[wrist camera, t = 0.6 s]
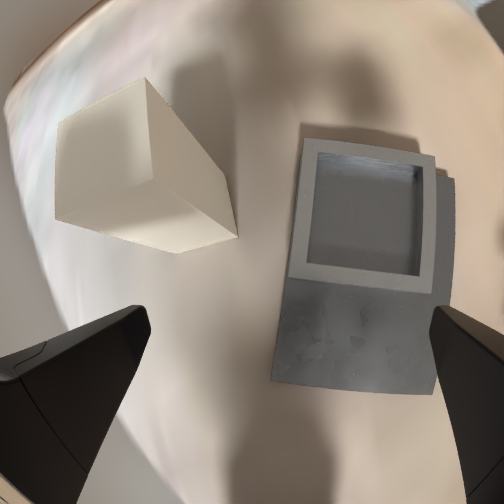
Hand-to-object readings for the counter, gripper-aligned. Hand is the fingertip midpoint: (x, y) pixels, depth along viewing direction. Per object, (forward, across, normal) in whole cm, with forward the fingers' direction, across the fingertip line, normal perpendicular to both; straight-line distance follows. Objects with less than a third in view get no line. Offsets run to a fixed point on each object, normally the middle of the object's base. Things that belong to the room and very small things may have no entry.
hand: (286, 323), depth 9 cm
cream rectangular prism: (+15, +8, 0) cm, 17 cm away
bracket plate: (+13, -5, +4) cm, 14 cm away
